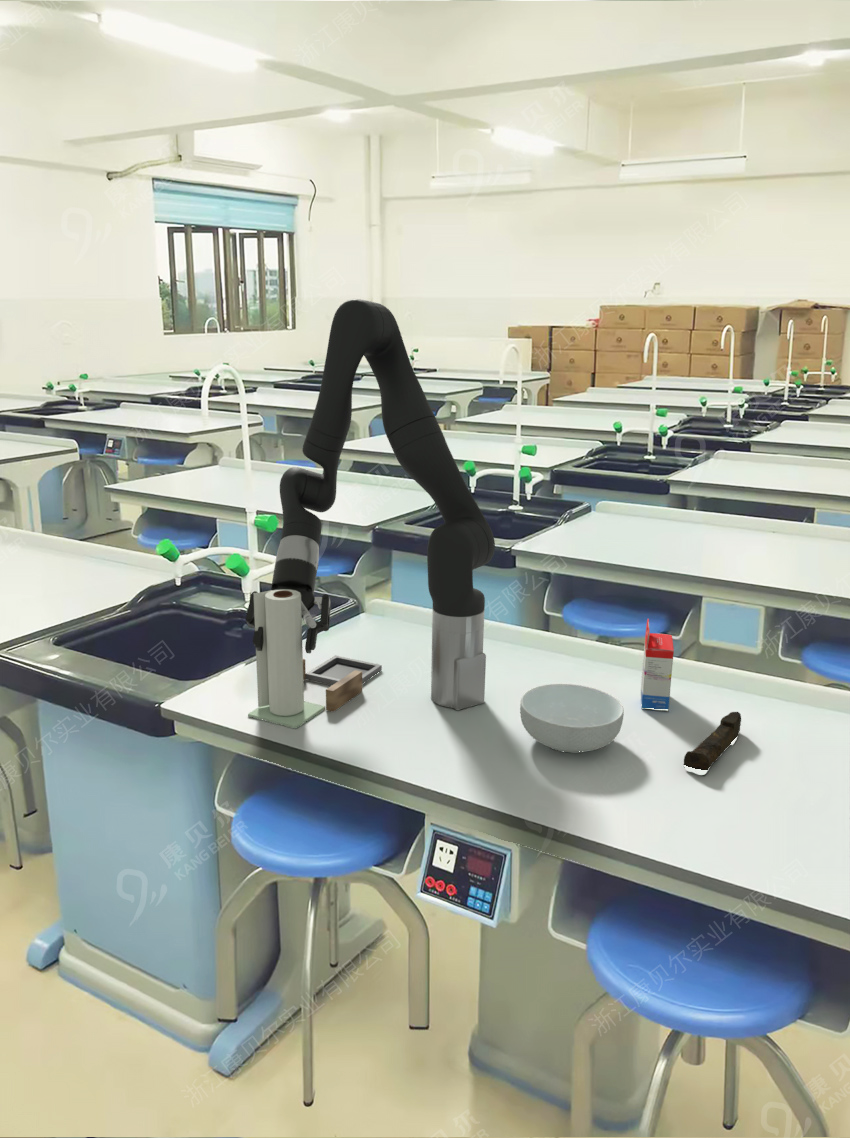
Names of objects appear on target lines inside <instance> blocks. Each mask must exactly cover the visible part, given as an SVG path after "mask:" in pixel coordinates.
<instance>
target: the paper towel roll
mask: <svg viewBox="0 0 850 1138" xmlns="http://www.w3.org/2000/svg"><path fill="white" fill-rule="evenodd" d="M254 617H255V628H254V631H258V627H263V639H264V642H263V648H262V651H257V649H256V648H255V657H256V658H255V661H256V681H257V682H256V683H257V684H256V685H257V703H258V705H257V706H258V707H263V706H268V705H269V709H270V712H272V713H273V714H275V715H279V716H290V715H295V714H298V713H300V712H302V710H303V709H304V701H305V694H304V693H305V691H304V690H305V689H304V686H305V685H304V680H303V659H304V656H303V655H304V654H303V649H304V648H303V623H302V622H303V619H302V612H301V594H300V592H298V591H295V590H288V589H282V590H271V589H270V590H267V591H266V590H265V591H262V592H258V593H254ZM258 707H257V708H258Z"/></svg>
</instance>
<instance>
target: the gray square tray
mask: <svg viewBox="0 0 850 1138" xmlns="http://www.w3.org/2000/svg"><path fill="white" fill-rule="evenodd" d="M382 666H383V665H382V664H379V663H373V662H369V661H364V660H359V659H354V658H350V657H345V656H339V655H333V656H332V657H330V658H328V659H327V660H326V661H324V662H322V663H321V664H319V665H317V666H315V667H314V668H312V669H310V670H309V671H308V672H306V679H305V680H306V681H311V682H316V683H318V684H319V683H320V684H325V685H328V686H332V685H333V684H335V683H336V682H338V681H339V680H341V679H342V678H344V677H345V676H347V675H348V674H350V673H351V672H353V671H354V670H357V671H362V685H364V684H365V683H366V682H368V681H369V680H371V679H372V678H373V677H372V676H374V675H375V674H376V675H378V674H379V673H381V672H382V671H381V670H382V669H383V668H382ZM380 671H381V672H380ZM378 672H379V673H378ZM377 673H378V674H377ZM376 675H375V676H376ZM375 676H374V677H375ZM371 677H372V678H371ZM370 678H371V679H370ZM368 679H369V680H368ZM367 680H368V681H367ZM364 682H365V683H364ZM363 683H364V684H363Z"/></svg>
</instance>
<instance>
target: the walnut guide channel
mask: <svg viewBox="0 0 850 1138" xmlns="http://www.w3.org/2000/svg"><path fill="white" fill-rule="evenodd" d="M306 673H307V672H306V659H305V658H303V681H305V680H306ZM362 692H363V684H362V671H357V670H354V671H353V672H351V673H350V674H348V675H347V676H345V677H344V678H342V679H341V680H339V681H338V682H336V683H335V684H333V685H329V687H327V688H325V711H326V710H328V711H327V712H331V711H332V712H331V713H334V712H336V711H337V710H338V708H339V709H340V708H341V707H343V706H344V705H346V704H347V703H348V702H350V701H352V700H353V699H354V698H355V697H357V696H358V695H360V694H361V693H362ZM352 698H353V699H352ZM349 700H350V701H349Z"/></svg>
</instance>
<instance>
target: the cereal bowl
mask: <svg viewBox="0 0 850 1138" xmlns="http://www.w3.org/2000/svg"><path fill="white" fill-rule="evenodd" d="M519 706H520V708H519V713H520V720H521V723H522V725H523V728H524V730H525V731H526V732H527V733H528V734H529V736H530V737H532V738H533V739H534V740H536V741H537V742H538V743H540V744H542V745H544V746H547V747H548V748H550V747H551V748H550V749H552V748H553V750H554V749H555V751H557V750H558V751H557V752H560V751H564V752H563V753H565V752H579V751H580V752H581V753H583V752H582V751H585V752H589V751H590V752H591V751H596V750H599V749H601V748H603V747H606V746H607V745H609V744H610V743H612V742H613V741H614V740H615V739H616V738H617V736H618V735H619V734H620V732H621V731H620V730H621V729H622V726H623V720H624V714H625V713H624V705H623V704H622V702H621V701H620V700H619V699H617V698H616V696H613V695H612V694H609V693H608V692H605V691H602V690H600V689H598V688H595V687H589V686H585V685H579V684H571V683H551V684H543V685H540V686H536V687H533V688H531V689H529V690H527V691H526V692H525V693H523V695H522V697H521V699H520V705H519Z"/></svg>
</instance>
